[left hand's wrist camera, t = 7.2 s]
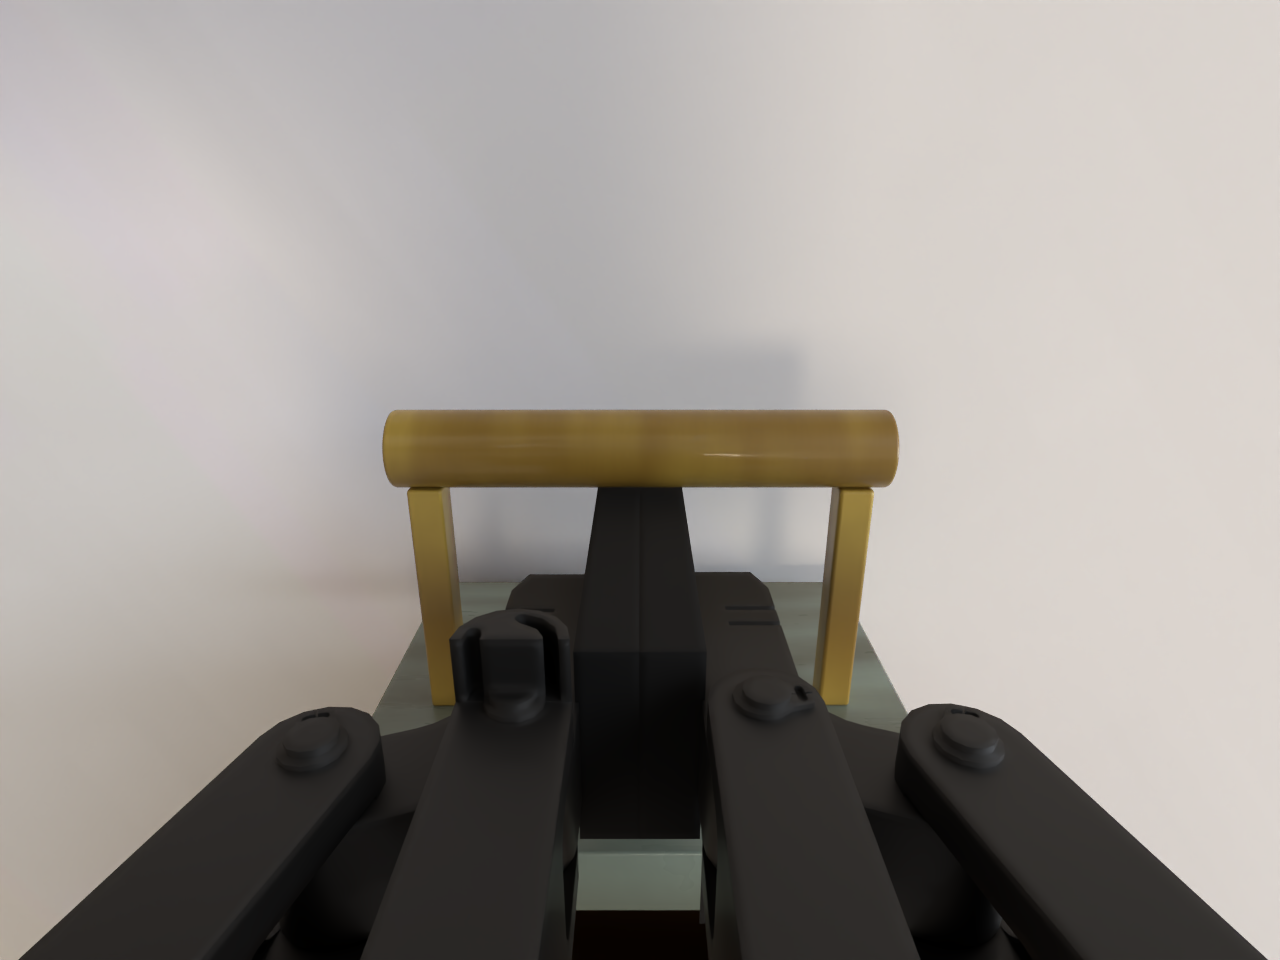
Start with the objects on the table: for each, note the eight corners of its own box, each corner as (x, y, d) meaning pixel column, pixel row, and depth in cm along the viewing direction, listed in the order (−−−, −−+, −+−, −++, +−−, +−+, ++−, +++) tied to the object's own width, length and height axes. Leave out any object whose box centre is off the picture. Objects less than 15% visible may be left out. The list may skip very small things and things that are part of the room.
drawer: (418, 357, 17) (220, 490, 9) (863, 357, 17) (1062, 490, 9) (495, 1072, 25) (430, 1458, 18) (786, 1072, 25) (850, 1458, 18)
